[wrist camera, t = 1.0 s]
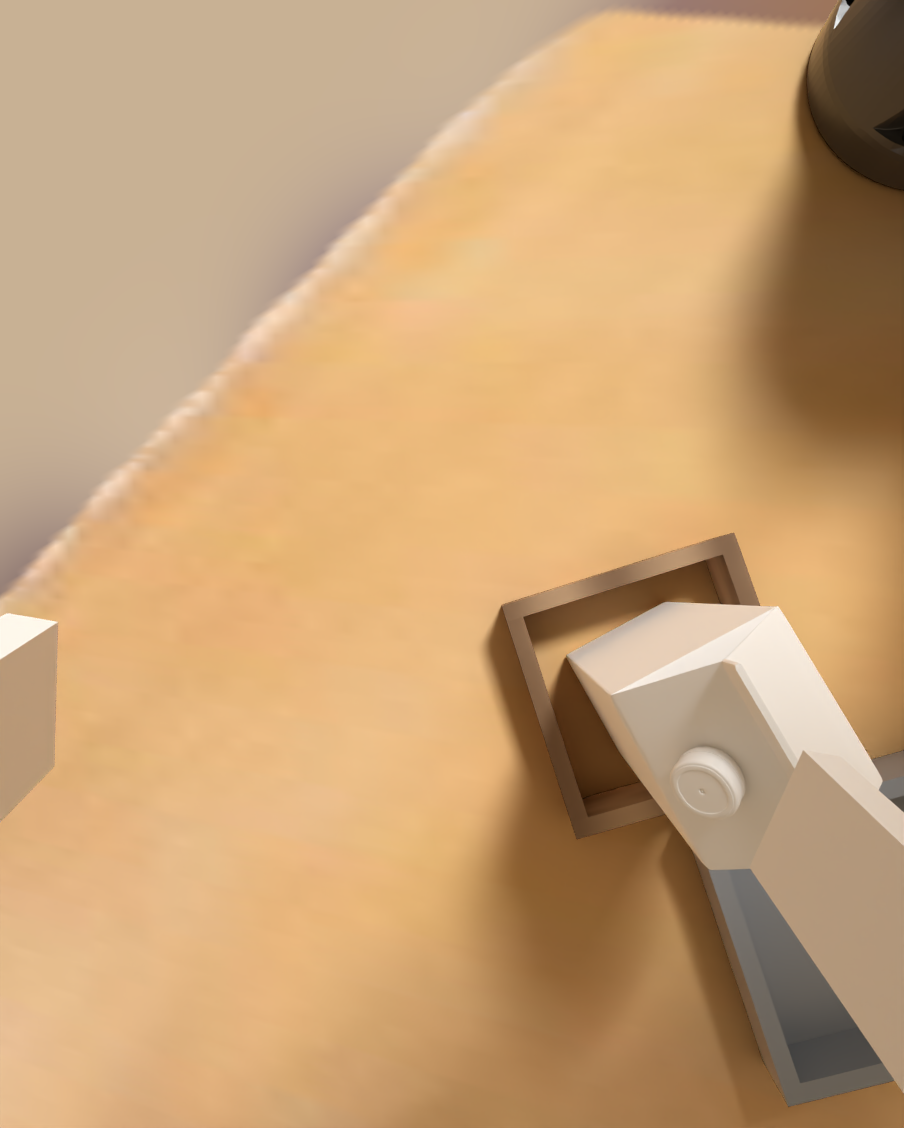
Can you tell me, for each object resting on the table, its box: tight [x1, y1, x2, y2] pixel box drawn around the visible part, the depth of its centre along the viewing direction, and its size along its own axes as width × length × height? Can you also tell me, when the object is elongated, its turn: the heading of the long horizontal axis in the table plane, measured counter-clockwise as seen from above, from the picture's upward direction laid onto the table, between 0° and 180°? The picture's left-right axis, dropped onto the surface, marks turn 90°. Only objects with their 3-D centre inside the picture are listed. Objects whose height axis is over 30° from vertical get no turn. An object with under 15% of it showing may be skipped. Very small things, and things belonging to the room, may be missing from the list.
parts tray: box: [692, 750, 904, 1107], centre depth 33 cm, size 15×15×3 cm
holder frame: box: [502, 533, 760, 839], centre depth 34 cm, size 14×14×3 cm
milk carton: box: [566, 602, 883, 870], centre depth 26 cm, size 7×7×19 cm
